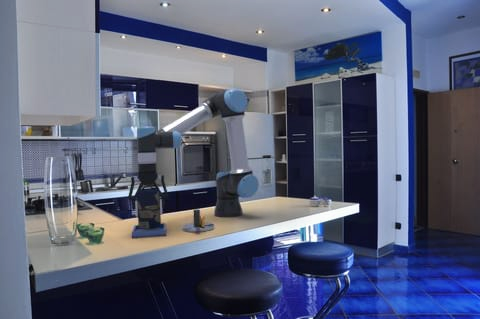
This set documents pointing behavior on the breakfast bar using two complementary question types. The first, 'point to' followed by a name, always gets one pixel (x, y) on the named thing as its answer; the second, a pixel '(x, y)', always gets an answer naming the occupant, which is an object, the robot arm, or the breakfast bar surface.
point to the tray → (149, 231)
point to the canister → (148, 208)
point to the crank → (197, 219)
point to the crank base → (192, 229)
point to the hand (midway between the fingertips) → (149, 215)
